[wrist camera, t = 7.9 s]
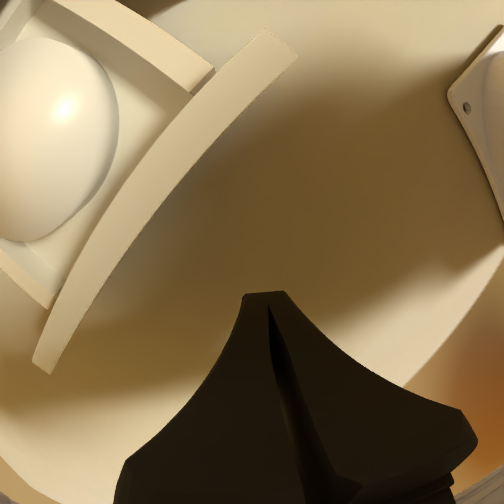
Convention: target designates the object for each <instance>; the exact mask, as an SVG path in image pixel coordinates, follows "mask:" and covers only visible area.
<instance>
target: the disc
mask: <svg viewBox="0 0 504 504" xmlns="http://www.w3.org/2000/svg"><path fill="white" fill-rule="evenodd" d="M118 135H119V109H118V102H117V97H116V93H115V90H114V87H113V84H112V82H111V80H110V78H109V76H108V74H107V72H106V71H105V69H104V68H103V66H102V65H101V64H100V63H99V62H98V61H97V60H96V59H95V58H94V57H93V56H91V55H90V54H88V53H87V52H85V51H82V50H80V49H78V48H75V47H72V46H70V45H67V44H64V43H61V42H58V41H55V40H52V39H49V38H43V37H31V38H26V39H22V40H19V41H17V42H15V43H12V44H11V45H9V46H7V47H6V48H4V49H3V50H1V51H0V236H1V237H3V238H5V239H8V240H13V241H22V242H25V241H32V240H35V239H38V238H41V237H43V236H45V235H46V234H48V233H50V232H51V231H53V230H54V229H55V228H57V227H58V226H59V225H61V224H62V223H63V222H65V221H66V220H67V219H69V218H70V217H72V216H73V215H74V214H76V213H77V212H78V211H80V210H81V209H82V208H84V207H85V206H86V205H87V204H88V203H89V202H90V201H91V200H92V199H93V198H94V196H95V195H96V194H97V192H98V191H99V190H100V188H101V186H102V185H103V183H104V181H105V179H106V177H107V175H108V173H109V171H110V168H111V165H112V162H113V160H114V156H115V152H116V148H117V143H118Z"/></svg>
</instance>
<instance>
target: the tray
mask: <svg viewBox="0 0 504 504" xmlns="http://www.w3.org/2000/svg"><path fill="white" fill-rule="evenodd" d="M31 37H43V38H49V39H52V40H55V41H58V42H61V43H64V44H67V45H70V46H72V47H75V48H78V49H80V50H82V51H85V52H87V53H88V54H90V55H91V56H93V57H94V58H95V59H96V60H97V61H98V62H99V63H100V64H101V65H102V66H103V68H104V69H105V71H106V72H107V74H108V76H109V78H110V80H111V82H112V84H113V87H114V90H115V93H116V97H117V102H118V109H119V135H118V143H117V148H116V152H115V156H114V160H113V162H112V165H111V168H110V171H109V173H108V175H107V177H106V179H105V181H104V183H103V185H102V186H101V188H100V190H99V191H98V192H97V194H96V195H95V196H94V198H93V199H92V200H91V201H90V202H89V203H88V204H87V205H86V206H85V207H84V208H82V209H81V210H80V211H78V212H77V213H76V214H74V215H73V216H72V217H70V218H69V219H67V220H66V221H65V222H63V223H62V224H61V225H59V226H58V227H57V228H55V229H54V230H53V231H51V232H50V233H48V234H46V235H45V236H43V237H41V238H38V239H35V240H32V241H25V242H22V241H13V240H8V239H5V238H3V237H1V236H0V268H1V269H2V270H3V271H4V272H5V273H6V274H7V275H8V276H9V277H10V278H11V279H12V280H13V281H14V282H15V283H17V284H18V285H19V286H20V287H21V288H22V289H23V290H24V291H25V292H27V293H28V294H29V295H30V296H31V297H32V298H33V299H35V300H36V301H37V302H38V303H39V304H40V305H42V306H43V307H44V308H45V309H47V310H48V309H49V307H50V306H51V305H52V304H53V302H54V301H55V300H56V298H57V297H58V298H57V300H56V302H55V305H54V307H53V309H52V311H51V313H50V316H49V318H48V320H47V322H46V325H45V327H44V329H43V332H42V334H41V337H40V339H39V342H38V344H37V347H36V349H35V352H34V355H33V357H32V360H31V362H33V363H34V364H35V365H37V366H38V367H39V368H41V369H42V370H43V371H45V372H46V373H47V374H49V375H51V373H52V371H53V369H54V367H55V366H56V364H57V362H58V360H59V358H60V356H61V355H62V353H63V351H64V349H65V347H66V346H67V344H68V342H69V340H70V339H71V337H72V335H73V333H74V332H75V330H76V328H77V327H78V325H79V323H80V322H81V320H82V318H83V317H84V315H85V314H86V312H87V310H88V309H89V307H90V306H91V304H92V302H93V301H94V299H95V298H96V296H97V294H98V293H99V291H100V290H101V288H102V287H103V285H104V284H105V282H106V281H107V279H108V278H109V276H110V275H111V273H112V272H113V270H114V269H115V267H116V266H117V264H118V263H119V261H120V260H121V259H122V257H123V256H124V254H125V253H126V252H127V250H128V249H129V247H130V246H131V245H132V243H133V242H134V240H135V239H136V238H137V236H138V235H139V234H140V232H141V231H142V229H143V228H144V227H145V225H146V224H147V223H148V222H149V220H150V219H151V218H152V216H153V215H154V214H155V212H156V211H157V210H158V209H159V207H160V206H161V205H162V203H163V202H164V201H165V200H166V198H167V197H168V196H169V195H170V193H171V192H172V191H173V190H174V188H175V187H176V186H177V185H178V184H179V182H180V181H181V180H182V179H183V178H184V176H185V175H186V174H187V173H188V172H189V170H190V169H191V168H192V167H193V166H194V165H195V163H196V162H197V161H198V160H199V159H200V158H201V157H202V155H203V154H204V153H205V152H206V151H207V150H208V149H209V147H210V146H211V145H212V144H213V143H214V142H215V141H216V140H217V139H218V138H219V136H220V135H221V134H222V133H223V132H224V131H225V130H226V129H227V128H228V127H229V126H230V125H231V124H232V123H233V121H234V120H235V119H236V118H237V117H238V116H239V115H240V114H241V113H242V112H243V111H244V110H245V109H246V108H247V107H248V106H249V105H250V104H251V103H252V102H253V101H254V100H255V99H256V98H257V97H258V96H259V95H260V94H261V93H262V92H263V91H264V90H265V89H266V88H267V87H268V86H269V85H270V84H271V83H272V82H273V81H274V80H275V79H276V78H277V77H279V76H280V75H281V74H282V73H283V72H284V71H285V70H286V69H287V68H288V67H289V66H290V65H291V64H292V63H293V62H294V61H295V60H296V59H297V58H299V56H298V55H297V54H296V53H294V52H293V51H292V50H291V49H290V48H289V47H288V46H286V45H285V44H284V43H283V42H282V41H281V40H279V39H278V38H277V37H276V36H275V35H273V34H272V33H271V32H270V31H268V30H267V29H266V28H265V29H264V30H263V31H261V32H260V33H259V34H258V35H257V36H256V37H254V38H253V39H252V40H251V41H250V42H249V43H248V44H246V45H245V46H244V47H243V48H242V49H241V50H240V51H239V52H238V53H237V54H236V55H235V56H233V57H232V58H231V59H230V60H229V61H228V62H227V63H226V64H225V65H224V66H223V67H222V68H221V69H220V70H219V71H218V72H217V73H216V72H215V69H214V67H213V66H212V65H210V64H209V63H208V62H207V61H205V60H204V59H203V58H201V57H200V56H199V55H197V54H196V53H195V52H193V51H192V50H191V49H189V48H188V47H187V46H185V45H184V44H182V43H181V42H180V41H178V40H177V39H175V38H174V37H172V36H171V35H169V34H168V33H167V32H165V31H164V30H162V29H161V28H159V27H158V26H156V25H155V24H153V23H152V22H150V21H148V20H147V19H145V18H144V17H142V16H140V15H139V14H137V13H136V12H134V11H132V10H131V9H129V8H127V7H126V6H124V5H122V4H120V3H119V2H117V1H115V0H0V51H1V50H3V49H4V48H6V47H7V46H9V45H11V44H12V43H15V42H17V41H19V40H22V39H26V38H31Z"/></svg>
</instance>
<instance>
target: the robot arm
mask: <svg viewBox="0 0 504 504" xmlns="http://www.w3.org/2000/svg"><path fill="white" fill-rule="evenodd" d="M447 97H448V101H449V103H450V105H451V107H452V109H453V110H454V112H455V114H456V115H457V117H458V119H459V121H460V122H461V124H462V126H463V128H464V130H465V131H466V133H467V135H468V137H469V139H470V141H471V143H472V145H473V147H474V149H475V151H476V153H477V155H478V157H479V159H480V162H481V164H482V166H483V168H484V171H485V173H486V175H487V178H488V180H489V182H490V185H491V187H492V190H493V193H494V195H495V198H496V201H497V203H498V206H499V209H500V212H501V215H502V218H503V221H504V27H503V28H502V29H501V30H500V31H499V33H498V34H497V35H496V36H495V37H494V38H493V40H492V41H491V42H490V43H489V44H488V45H487V46H486V48H485V49H484V50H483V51H482V52H481V53H480V54H479V55H478V57H477V58H476V59H475V60H474V61H473V62H472V63H471V64H470V66H469V67H468V68H467V69H466V70H465V71H464V72H463V73H462V74H461V76H460V77H459V78H458V79H457V80H456V81H455V82H454V83H453V84H452V85H451V87H450V88H449V90H448V93H447ZM463 104H464V106H465V112H464V110H463ZM477 444H478V439H477V437H476V435H475V433H474V431H473V429H472V427H471V426H470V424H469V422H468V421H467V419H466V417H465V416H464V415H463V413H462V411H461V410H459V409H456V408H453V407H450V406H446V405H443V404H440V403H438V402H435V401H432V400H429V399H426V398H424V397H421V396H419V395H417V394H414V393H412V392H410V391H408V390H405V389H403V388H401V387H399V386H397V385H395V384H393V383H391V382H389V381H388V380H386V379H384V378H382V377H381V376H379V375H377V374H376V373H374V372H372V371H370V370H369V369H367V368H366V367H364V366H363V365H361V364H360V363H358V362H357V361H355V360H354V359H353V358H351V357H350V356H349V355H347V354H346V353H345V352H344V351H342V350H341V349H340V348H339V347H337V346H336V345H335V344H334V343H333V342H332V341H331V340H329V339H328V338H327V337H326V336H325V335H324V334H323V333H322V332H321V331H320V330H319V329H318V328H317V327H316V326H315V325H314V324H313V323H312V322H311V321H310V320H309V319H308V318H307V317H306V316H305V315H304V314H303V313H302V311H301V310H300V309H299V308H298V307H297V306H296V305H295V303H294V302H293V301H292V300H291V298H290V297H289V296H288V295H287V293H286V292H284V291H274V292H262V293H250V294H245V295H244V296H243V297H242V303H241V307H240V311H239V314H238V317H237V320H236V322H235V325H234V327H233V330H232V332H231V335H230V337H229V339H228V341H227V343H226V345H225V347H224V349H223V351H222V353H221V355H220V356H219V358H218V360H217V362H216V363H215V365H214V366H213V368H212V370H211V371H210V373H209V374H208V376H207V377H206V379H205V380H204V382H203V383H202V384H201V386H200V387H199V388H198V390H197V391H196V392H195V393H194V395H193V396H192V397H191V399H190V400H189V401H188V402H187V403H186V405H185V406H184V407H183V408H182V409H181V410H180V411H179V412H178V413H177V414H176V415H175V416H174V417H173V419H172V420H171V421H170V422H169V423H168V424H167V425H166V426H165V427H164V428H163V429H162V430H161V431H160V432H159V433H158V434H156V435H155V436H154V437H153V438H152V439H151V440H149V441H148V442H147V443H146V444H145V445H144V446H142V447H141V448H140V449H139V450H137V451H136V452H135V453H134V454H133V455H131V456H130V457H129V458H127V459H126V460H125V463H124V465H123V468H122V470H121V473H120V476H119V479H118V482H117V485H116V490H115V496H114V502H113V504H504V464H503V465H502V466H500V467H499V468H497V469H496V470H495V471H493V472H492V473H490V474H489V475H487V476H486V477H485V478H483V479H481V480H480V481H478V482H477V483H475V484H473V485H472V486H470V487H468V488H467V489H465V490H463V491H462V492H460V493H458V494H457V495H455V496H453V494H452V492H451V489H450V486H452V485H453V484H454V479H453V477H452V475H451V472H452V471H453V470H454V469H455V468H456V467H457V466H459V465H460V464H461V463H462V462H463V461H464V460H465V459H466V458H467V457H468V456H469V455H470V454H471V453H472V452H473V451H474V449H475V448H476V446H477ZM0 504H19V503H17V502H15V501H13V500H11V499H9V497H8V496H6V495H5V494H3V493H2V492H0Z"/></svg>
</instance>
